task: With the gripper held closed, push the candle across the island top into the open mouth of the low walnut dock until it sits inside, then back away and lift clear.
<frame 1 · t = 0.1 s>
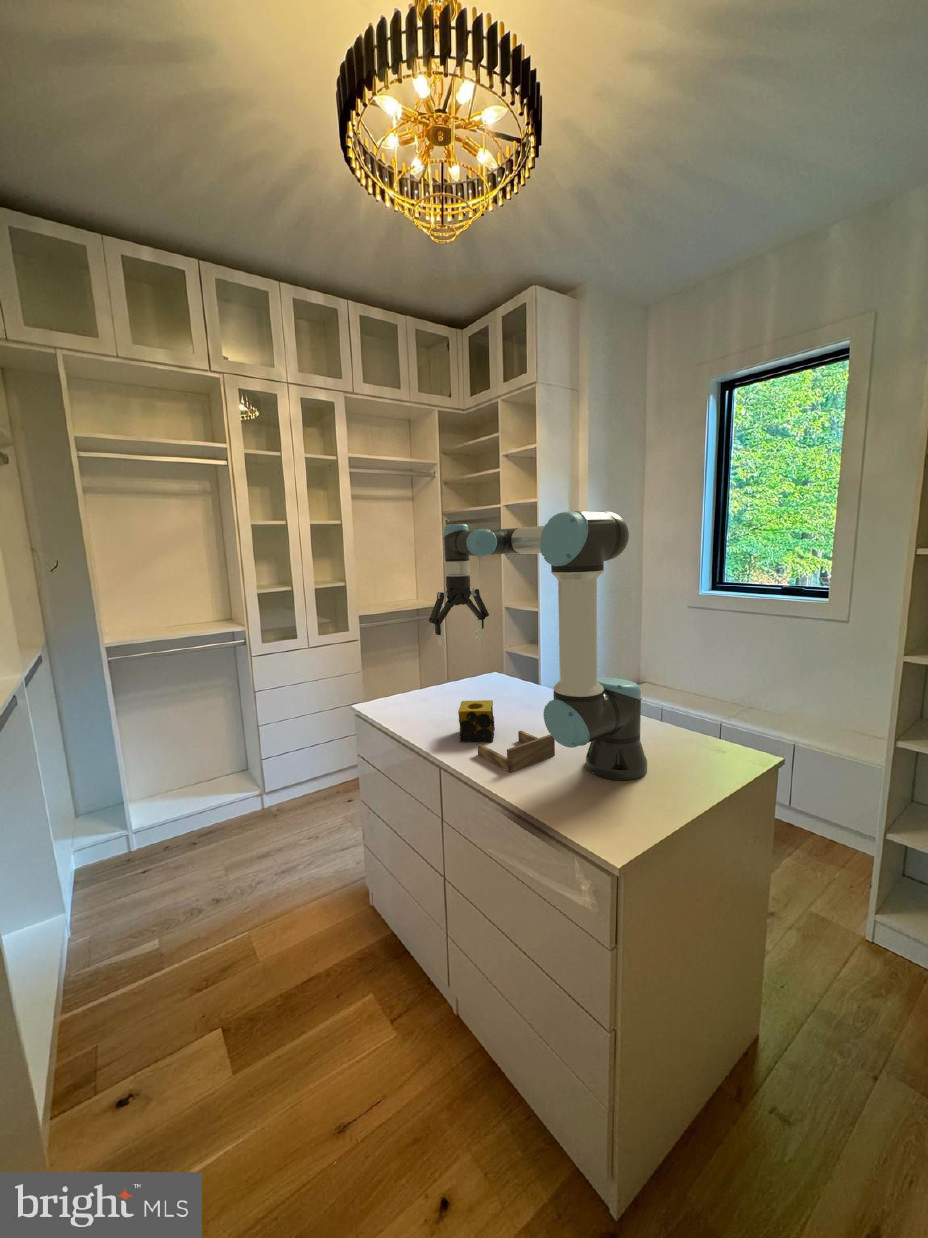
hand: (460, 642, 157), 28 cm above the cabinet, tool pointing down, fingers open, 13 cm apart
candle: (477, 737, 152), on the cabinet
dock: (515, 755, 138), on the cabinet
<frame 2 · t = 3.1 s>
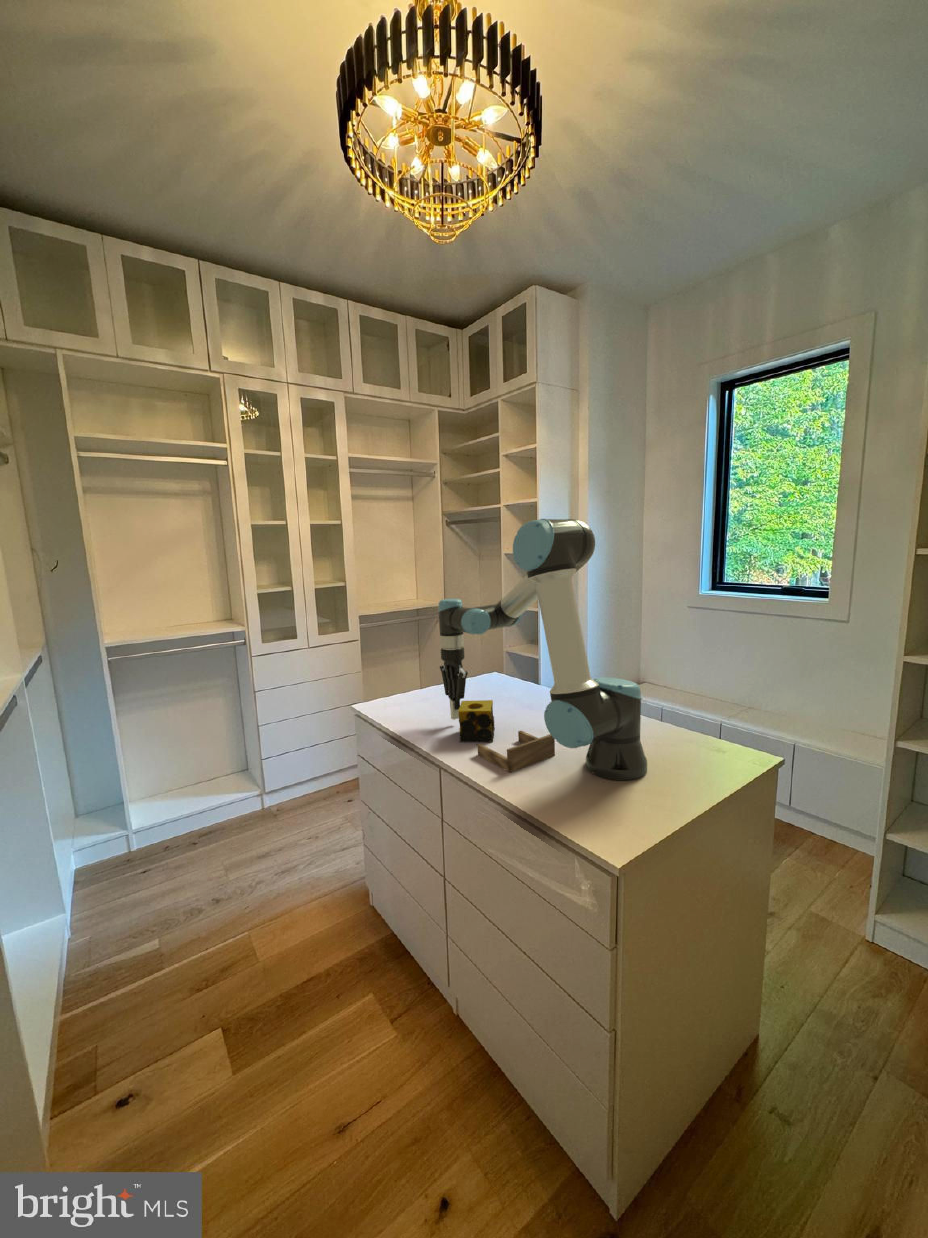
hand: (455, 718, 162), 2 cm above the cabinet, tool pointing down, fingers closed
nothing on the cabinet moved.
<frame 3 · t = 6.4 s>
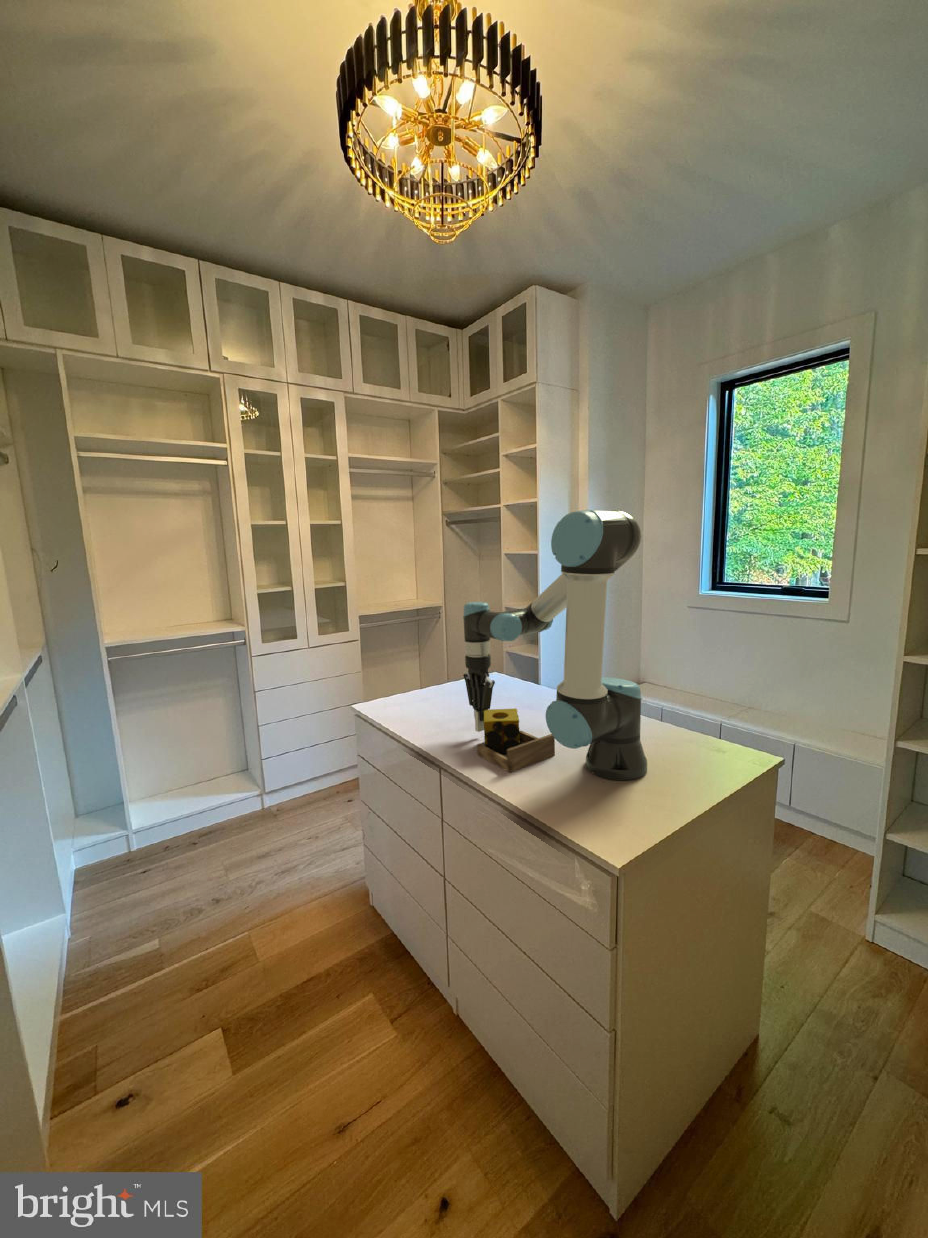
hand: (480, 730, 151), 2 cm above the cabinet, tool pointing down, fingers closed
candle: (502, 748, 143), on the cabinet, touching dock, hand
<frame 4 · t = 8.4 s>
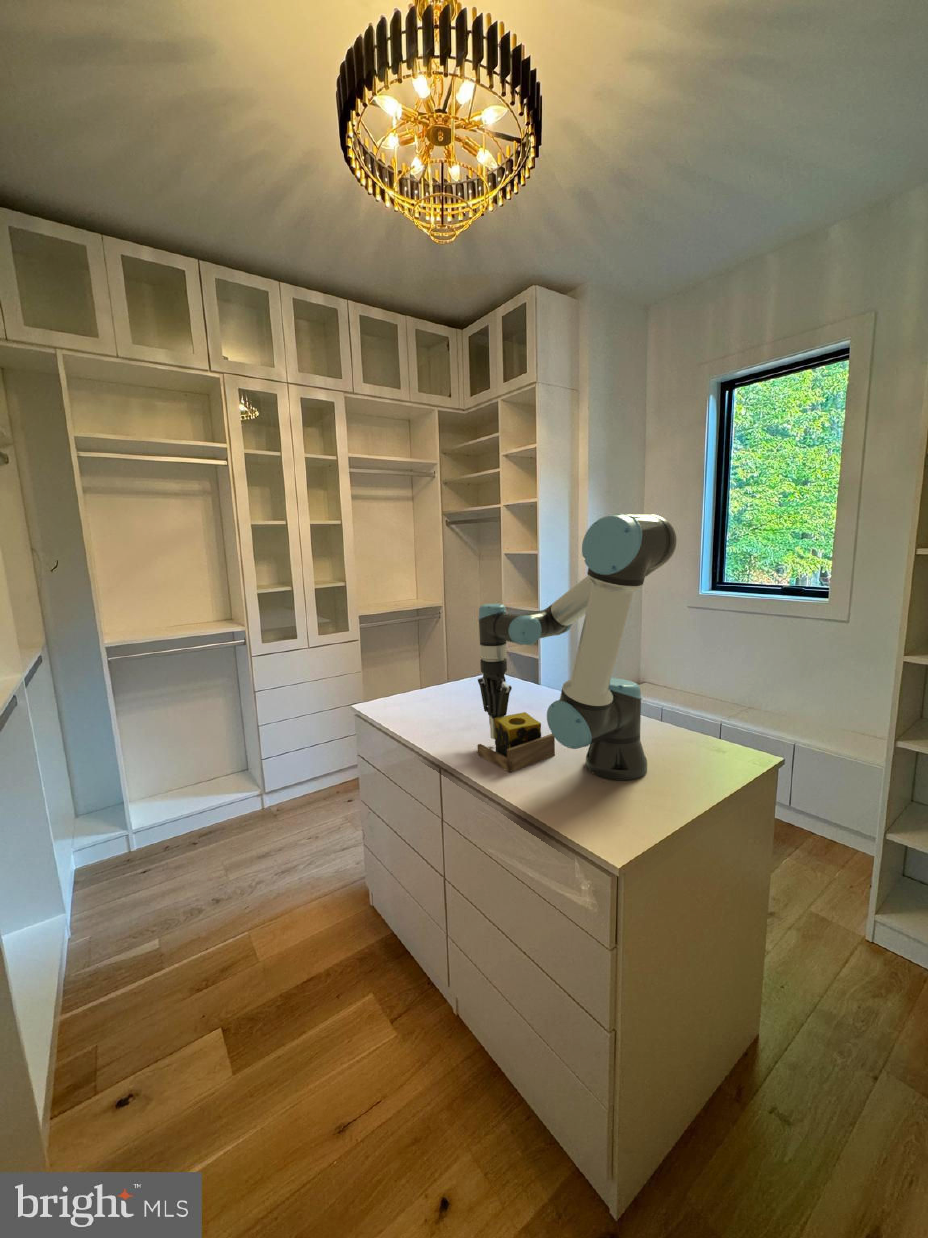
hand: (495, 737, 144), 3 cm above the cabinet, tool pointing down, fingers closed
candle: (518, 754, 138), on the cabinet, touching dock, hand
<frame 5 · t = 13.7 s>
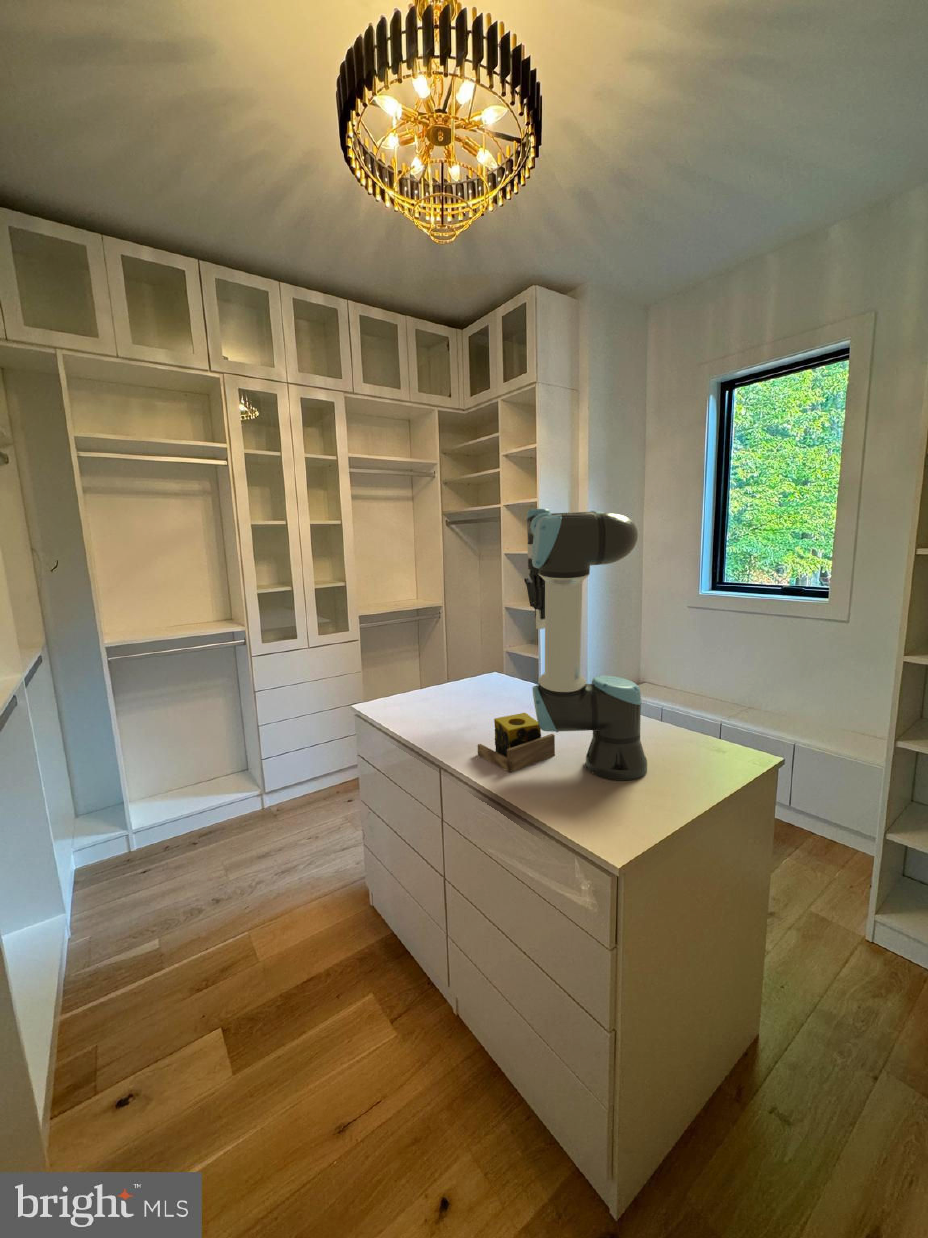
hand: (540, 628, 166), 29 cm above the cabinet, tool pointing down, fingers closed
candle: (518, 755, 138), on the cabinet
at the end: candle inside the target area (1.0 cm from its centre), on the cabinet; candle tilted 0°; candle moved 18.0 cm from its start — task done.
